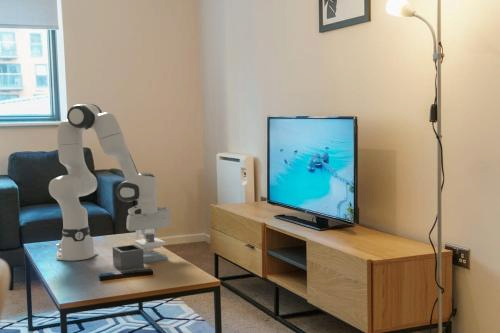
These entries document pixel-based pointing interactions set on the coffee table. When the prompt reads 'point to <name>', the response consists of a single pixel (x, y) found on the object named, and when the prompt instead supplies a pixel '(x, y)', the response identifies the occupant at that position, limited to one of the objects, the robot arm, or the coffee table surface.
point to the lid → (150, 242)
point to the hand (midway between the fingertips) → (149, 238)
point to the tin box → (128, 257)
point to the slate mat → (154, 257)
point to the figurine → (143, 238)
